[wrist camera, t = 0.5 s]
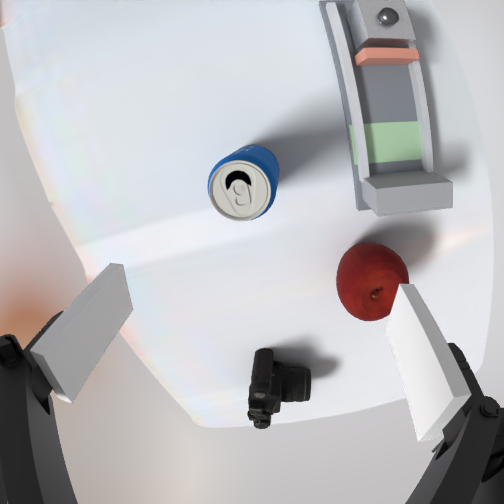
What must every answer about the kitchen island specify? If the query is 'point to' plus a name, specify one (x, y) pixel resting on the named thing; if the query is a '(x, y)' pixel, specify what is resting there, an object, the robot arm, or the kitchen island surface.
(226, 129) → the kitchen island surface
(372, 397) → the kitchen island surface
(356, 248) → the apple
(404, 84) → the base
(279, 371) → the camera
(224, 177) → the beverage can
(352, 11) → the white cube with knob
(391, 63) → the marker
